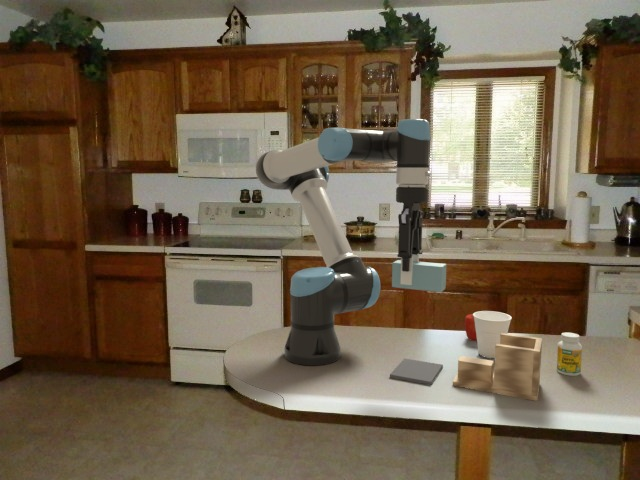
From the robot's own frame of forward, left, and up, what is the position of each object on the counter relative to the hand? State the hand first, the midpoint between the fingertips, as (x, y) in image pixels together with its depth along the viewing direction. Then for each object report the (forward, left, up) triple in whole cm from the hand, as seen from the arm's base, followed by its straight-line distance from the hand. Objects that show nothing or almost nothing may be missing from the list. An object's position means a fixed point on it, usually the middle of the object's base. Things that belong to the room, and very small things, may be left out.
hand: (409, 282), depth 122 cm
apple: (+11, +33, -23) cm, 42 cm away
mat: (+2, 0, -22) cm, 23 cm away
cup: (+17, +21, -23) cm, 35 cm away
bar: (+2, 0, -1) cm, 3 cm away
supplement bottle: (+36, +17, -23) cm, 46 cm away
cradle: (+21, +1, -22) cm, 31 cm away
